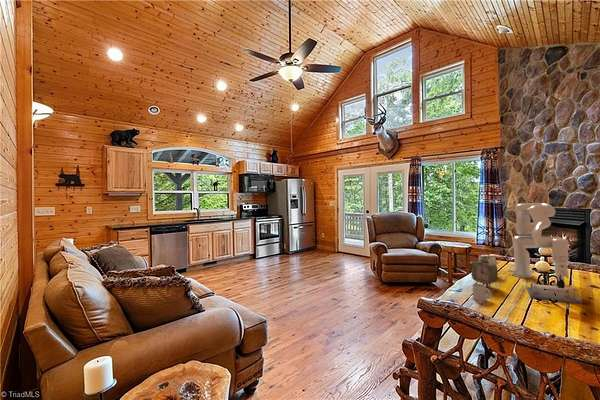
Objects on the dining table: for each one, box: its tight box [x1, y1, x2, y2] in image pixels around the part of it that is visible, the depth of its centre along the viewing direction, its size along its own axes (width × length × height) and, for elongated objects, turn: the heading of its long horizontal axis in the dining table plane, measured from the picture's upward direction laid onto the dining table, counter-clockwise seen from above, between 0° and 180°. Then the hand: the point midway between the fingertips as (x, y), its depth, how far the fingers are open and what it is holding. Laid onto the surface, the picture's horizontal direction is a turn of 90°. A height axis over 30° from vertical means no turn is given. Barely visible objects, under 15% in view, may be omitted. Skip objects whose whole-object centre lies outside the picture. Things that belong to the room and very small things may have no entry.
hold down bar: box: [532, 283, 579, 292], centre depth 182 cm, size 21×4×2 cm, turn 57°
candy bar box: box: [478, 254, 497, 265], centre depth 231 cm, size 11×5×16 cm, turn 80°
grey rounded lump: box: [472, 283, 492, 302], centre depth 182 cm, size 7×10×9 cm
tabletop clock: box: [470, 251, 499, 290], centre depth 205 cm, size 14×9×25 cm, turn 23°
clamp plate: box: [526, 282, 583, 305], centre depth 182 cm, size 24×16×7 cm, turn 57°
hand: (560, 287), depth 180 cm, fingers closed
